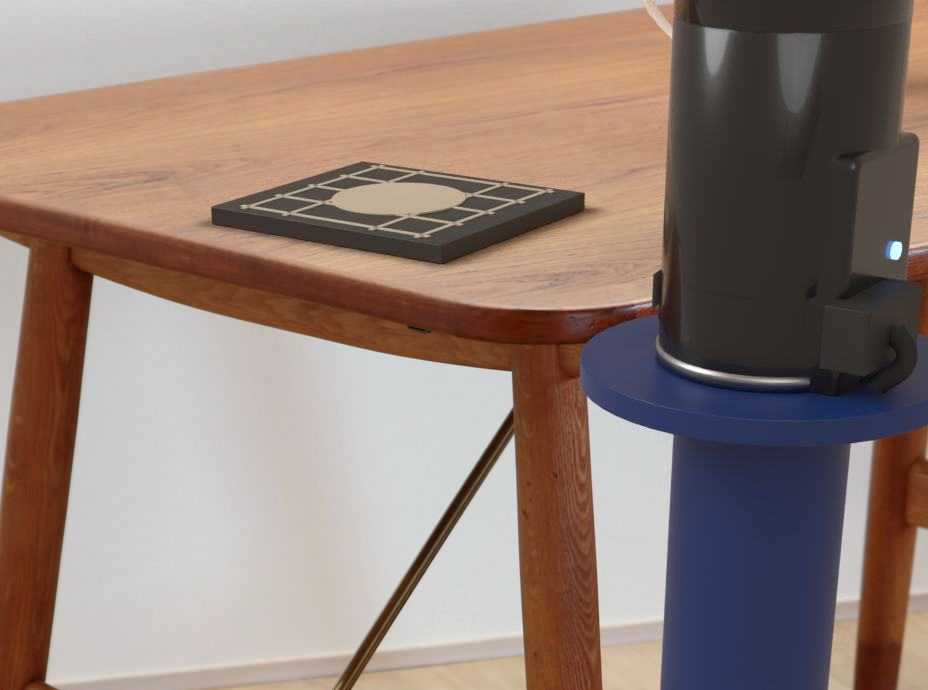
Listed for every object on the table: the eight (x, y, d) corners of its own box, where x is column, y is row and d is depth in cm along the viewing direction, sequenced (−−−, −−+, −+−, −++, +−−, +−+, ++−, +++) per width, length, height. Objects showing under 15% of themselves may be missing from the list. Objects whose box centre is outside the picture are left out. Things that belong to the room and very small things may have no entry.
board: (584, 210, 110) (585, 190, 109) (441, 264, 100) (441, 243, 99) (362, 177, 119) (362, 159, 118) (211, 223, 109) (210, 204, 108)
